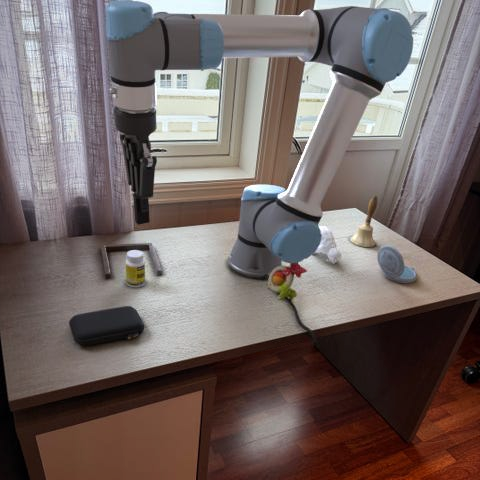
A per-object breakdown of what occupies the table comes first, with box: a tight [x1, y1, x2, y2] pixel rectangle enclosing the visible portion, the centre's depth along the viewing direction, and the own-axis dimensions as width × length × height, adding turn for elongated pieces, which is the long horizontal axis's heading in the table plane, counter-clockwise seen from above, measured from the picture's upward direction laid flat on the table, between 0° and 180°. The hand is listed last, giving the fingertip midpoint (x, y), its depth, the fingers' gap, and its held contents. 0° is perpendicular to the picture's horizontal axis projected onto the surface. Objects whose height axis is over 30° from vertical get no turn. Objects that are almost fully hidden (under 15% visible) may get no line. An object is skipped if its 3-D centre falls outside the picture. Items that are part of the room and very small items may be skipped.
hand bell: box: [349, 195, 378, 248], centre depth 146 cm, size 8×8×16 cm
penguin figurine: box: [312, 225, 342, 265], centre depth 135 cm, size 6×8×12 cm
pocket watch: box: [376, 244, 418, 284], centre depth 130 cm, size 10×11×15 cm
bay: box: [100, 242, 163, 280], centre depth 122 cm, size 16×14×2 cm
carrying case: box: [68, 305, 146, 346], centre depth 95 cm, size 11×3×15 cm
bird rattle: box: [266, 262, 308, 302], centre depth 113 cm, size 6×11×9 cm
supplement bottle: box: [125, 250, 146, 288], centre depth 111 cm, size 5×5×8 cm
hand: (142, 221), depth 96 cm, fingers closed
